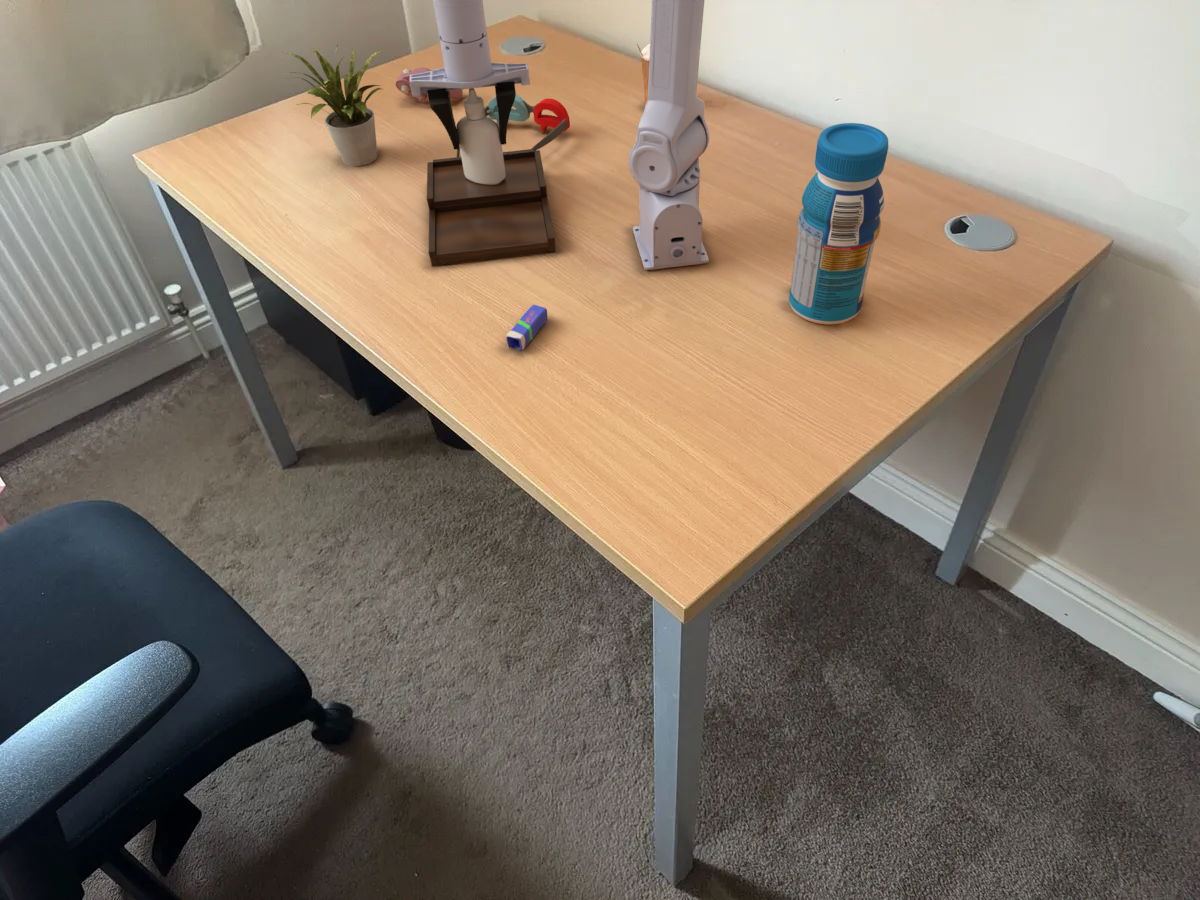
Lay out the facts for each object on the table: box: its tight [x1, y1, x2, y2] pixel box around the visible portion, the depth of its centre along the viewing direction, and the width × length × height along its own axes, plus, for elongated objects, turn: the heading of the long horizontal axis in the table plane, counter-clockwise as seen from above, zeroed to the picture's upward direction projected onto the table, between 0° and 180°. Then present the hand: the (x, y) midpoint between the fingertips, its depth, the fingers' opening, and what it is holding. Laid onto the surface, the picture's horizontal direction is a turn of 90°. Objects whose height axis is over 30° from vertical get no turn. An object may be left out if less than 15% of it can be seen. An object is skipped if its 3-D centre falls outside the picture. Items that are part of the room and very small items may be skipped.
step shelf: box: [426, 148, 557, 267], centre depth 112 cm, size 20×16×4 cm
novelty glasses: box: [456, 94, 571, 157], centre depth 125 cm, size 14×15×5 cm
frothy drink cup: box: [636, 43, 650, 106], centre depth 130 cm, size 5×5×10 cm
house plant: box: [282, 44, 384, 167], centre depth 121 cm, size 14×14×16 cm
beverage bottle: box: [788, 122, 889, 325], centre depth 89 cm, size 8×8×20 cm
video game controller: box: [395, 67, 464, 104], centre depth 137 cm, size 10×5×7 cm
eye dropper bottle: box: [456, 88, 506, 185], centre depth 110 cm, size 4×6×12 cm
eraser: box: [505, 304, 548, 352], centre depth 95 cm, size 2×6×2 cm, turn 153°
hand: (480, 143), depth 110 cm, fingers closed on eye dropper bottle, 5 cm apart
